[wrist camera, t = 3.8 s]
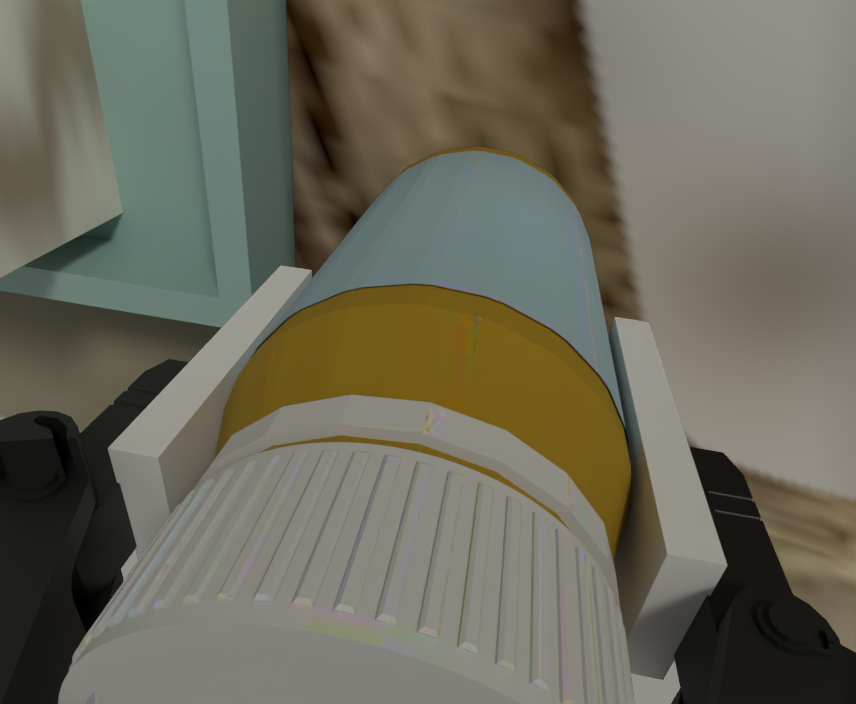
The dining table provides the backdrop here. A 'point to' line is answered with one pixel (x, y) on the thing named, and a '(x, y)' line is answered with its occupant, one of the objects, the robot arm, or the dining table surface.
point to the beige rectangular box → (49, 132)
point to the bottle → (402, 477)
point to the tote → (184, 162)
